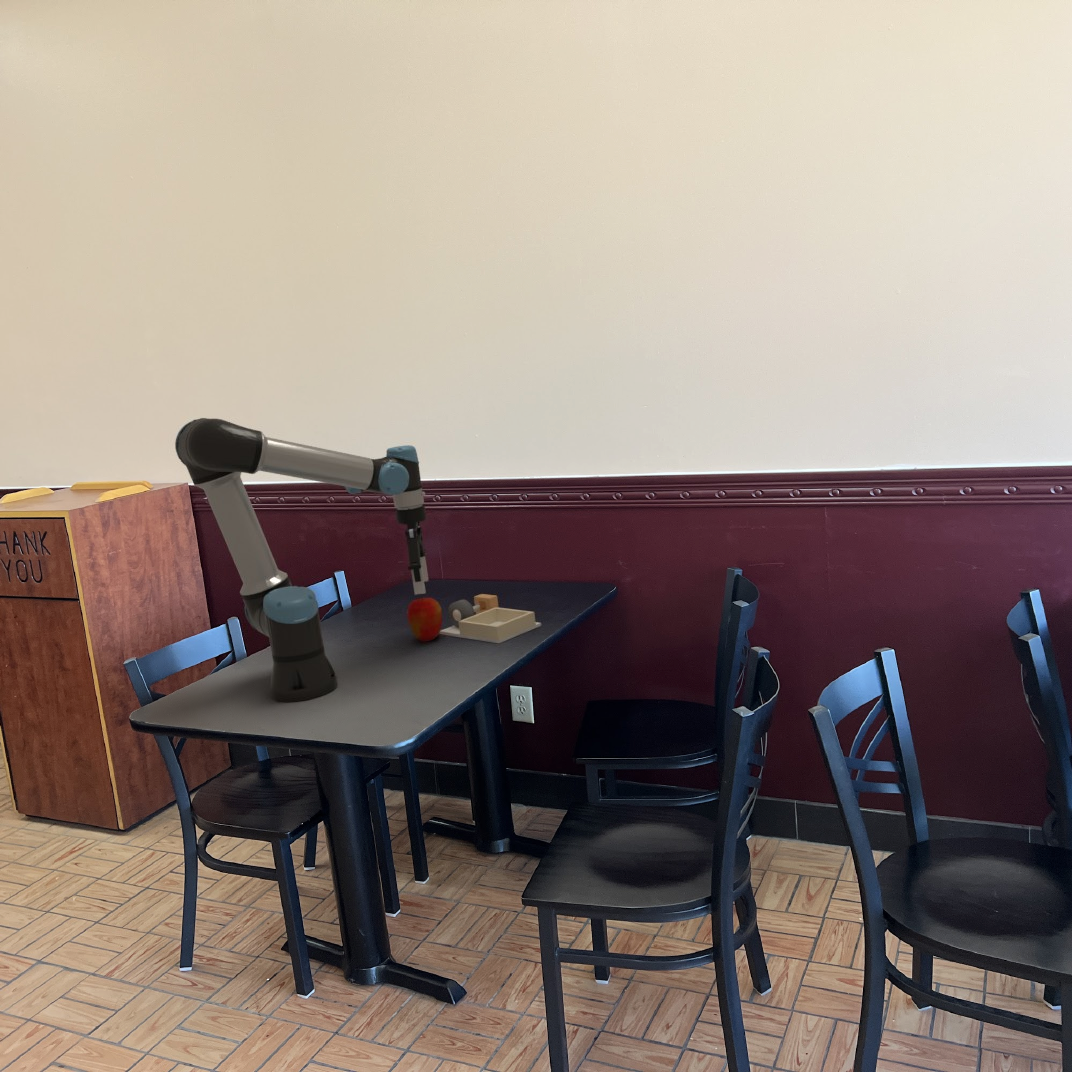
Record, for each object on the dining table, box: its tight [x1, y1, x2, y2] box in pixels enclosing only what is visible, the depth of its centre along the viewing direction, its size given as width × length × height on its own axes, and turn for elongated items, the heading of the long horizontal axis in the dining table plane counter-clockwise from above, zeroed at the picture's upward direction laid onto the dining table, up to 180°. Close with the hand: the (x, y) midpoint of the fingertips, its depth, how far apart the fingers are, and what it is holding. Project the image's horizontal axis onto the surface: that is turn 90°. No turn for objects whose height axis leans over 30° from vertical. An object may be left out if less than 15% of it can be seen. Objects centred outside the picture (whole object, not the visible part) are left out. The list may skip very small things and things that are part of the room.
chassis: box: [439, 593, 542, 644], centre depth 256 cm, size 16×22×7 cm
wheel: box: [447, 598, 480, 628], centre depth 260 cm, size 8×7×7 cm
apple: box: [406, 595, 443, 643], centre depth 253 cm, size 9×9×12 cm
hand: (421, 587), depth 251 cm, fingers open, 13 cm apart
